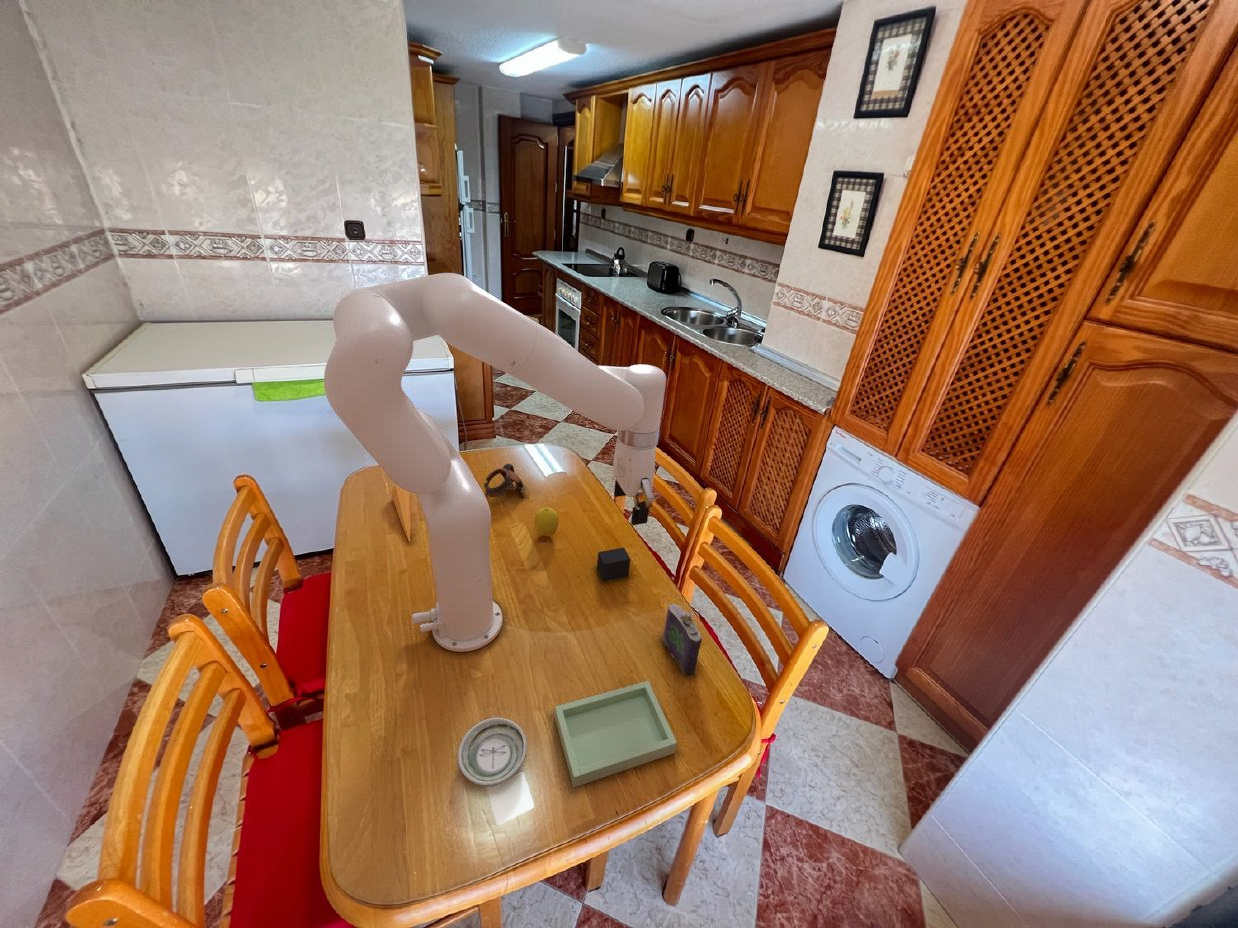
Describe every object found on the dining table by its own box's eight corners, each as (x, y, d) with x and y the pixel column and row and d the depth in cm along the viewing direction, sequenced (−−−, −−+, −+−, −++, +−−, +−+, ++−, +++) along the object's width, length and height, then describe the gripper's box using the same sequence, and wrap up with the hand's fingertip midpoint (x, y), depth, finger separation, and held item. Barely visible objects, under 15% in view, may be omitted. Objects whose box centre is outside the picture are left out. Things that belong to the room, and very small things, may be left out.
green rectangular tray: (573, 787, 70) (574, 777, 69) (554, 717, 79) (554, 706, 77) (674, 753, 75) (677, 742, 74) (646, 690, 84) (648, 680, 83)
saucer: (464, 804, 67) (463, 795, 66) (454, 738, 74) (453, 729, 73) (534, 778, 71) (534, 768, 69) (518, 717, 78) (518, 708, 77)
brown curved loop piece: (527, 505, 127) (511, 486, 122) (495, 515, 129) (477, 497, 124) (529, 471, 136) (514, 451, 130) (498, 481, 138) (482, 462, 132)
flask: (659, 638, 94) (667, 597, 88) (672, 633, 95) (680, 593, 90) (685, 678, 87) (695, 636, 81) (699, 672, 88) (710, 631, 83)
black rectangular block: (602, 581, 105) (604, 564, 103) (596, 569, 109) (598, 551, 106) (628, 576, 108) (630, 559, 105) (622, 564, 111) (624, 547, 108)
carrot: (396, 497, 126) (386, 486, 123) (412, 489, 126) (403, 478, 123) (405, 553, 112) (394, 541, 108) (424, 543, 112) (413, 531, 109)
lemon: (553, 545, 114) (554, 517, 110) (530, 540, 115) (530, 512, 111) (560, 530, 119) (561, 503, 115) (538, 526, 120) (539, 499, 116)
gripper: (604, 414, 96) (598, 487, 105) (636, 458, 82) (627, 538, 91) (639, 411, 99) (631, 483, 107) (677, 454, 85) (664, 532, 94)
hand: (629, 508), depth 99 cm, fingers open, 9 cm apart
